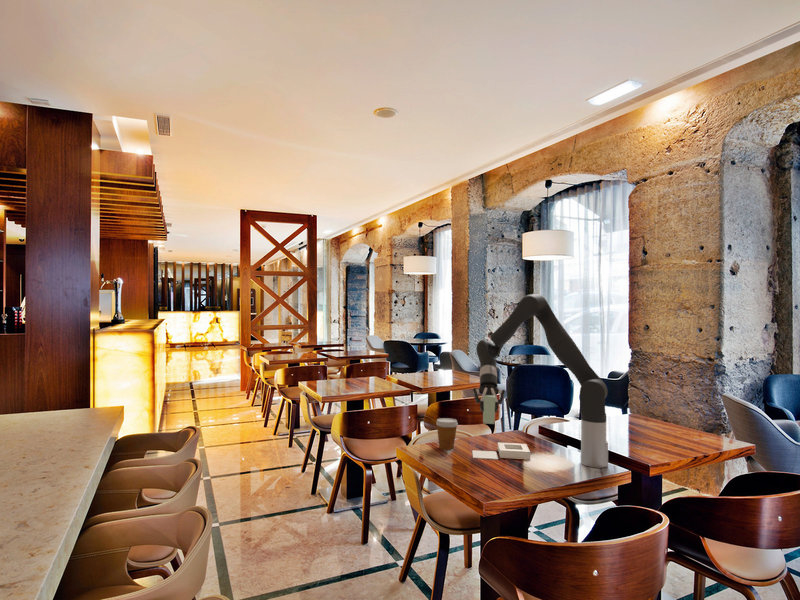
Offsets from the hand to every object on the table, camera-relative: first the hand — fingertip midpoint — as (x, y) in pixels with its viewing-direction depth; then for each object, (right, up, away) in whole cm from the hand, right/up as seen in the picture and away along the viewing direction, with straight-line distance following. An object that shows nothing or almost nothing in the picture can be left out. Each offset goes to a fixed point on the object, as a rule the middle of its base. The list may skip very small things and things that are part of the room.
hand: (489, 411), depth 192 cm
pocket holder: (+11, -19, +3) cm, 22 cm away
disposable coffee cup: (-17, -19, +10) cm, 27 cm away
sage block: (0, -5, +2) cm, 5 cm away
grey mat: (-2, -18, 0) cm, 19 cm away
